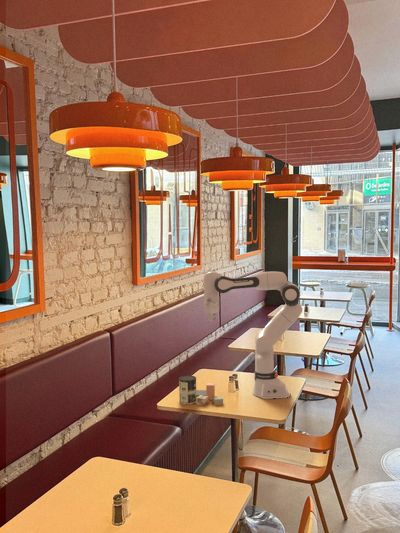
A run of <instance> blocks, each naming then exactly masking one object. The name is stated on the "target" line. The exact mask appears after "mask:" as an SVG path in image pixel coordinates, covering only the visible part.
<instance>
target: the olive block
mask: <svg viewBox="0 0 400 533" xmlns="http://www.w3.org/2000/svg"><path fill="white" fill-rule="evenodd" d="M222 396H223V395H215V396H214V397H213V400H212V403H213V405H214V406H222V405H224V398H223V397H222Z"/></svg>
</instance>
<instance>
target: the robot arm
mask: <svg viewBox="0 0 400 533" xmlns="http://www.w3.org/2000/svg"><path fill="white" fill-rule="evenodd" d="M203 289H204V292H203V298H204V299H203V300H204V314H205V315H207V318H208V322H209V323H211V322H213V321H216V320H217V313H219V312H220V301H221V297H220V295H219V293H220V294H227V293H228V292H230V291H232V290H239V289H240V290H241V289H254V290H258V291H270V290H271V291H272V290H274V291H275V290H276V291H279V292H280V295H281V298H282V299H283V301H284V303H285V304H284V305H283V306H282V308H280V309H279V310H278V311H277V313H276V314H275V315H273V317H272V318H271V319H270V320H269V321H268V323H267V324H266V325H265V326H264V328H261V329H259V330H258V331H257V332H256V333H255V337H254V346H255V347H254V349H255V351H254V353H255V354H254V355H255V357H254V359H255V360H254V361H255V362H254V363H255V364H254V366H255V370H254V373H253V374H254V377H253V378H254V387H253V389H252V390H253V392H252V395H253V396H255V397H259V398H261V399H263V400H270V399H271V400H272V399H273V398H276V399H288V398H290V397H291V392H290V390H288V389H287V386H286V384H285V382H284V381H283V380H281V379H280V378H279V377H278V376H279V374H278V373H277V370H274V368H275V367H274V365H275V364H274V359H275V358H274V346H275V345H276V344H277V343H278V342H279V341H280V339H281V337H282V336H283V335H284V334H285V332H287V331H288V330H289V329H290V328H291V326H292V325H293V324H294V323H296V321H297V320H298V319H299V317H300V316H301V314H302V313H303V306H302V305H301V303H299V300H300V296H301V291H300V288H299V287H298V285H297V284H295V283H294V282H291V281H290V280H288V277H287V275H286V273H284V272H283V271H274V270H273V271H272V270H271V271H263V272H258V273H255V274H252V275H249V276H246V277H234V278H232V277H229V276H226V275H224V274H223V275H222V274H221V273H218V272H217V271H209V272H207V273H206V272H205V274H204V276H203ZM289 396H290V397H289ZM287 397H288V398H287ZM273 400H274V399H273Z"/></svg>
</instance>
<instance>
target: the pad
mask: <svg viewBox="0 0 400 533" xmlns="http://www.w3.org/2000/svg"><path fill="white" fill-rule="evenodd" d="M200 395H203V396H206V390H205V389H201V390H199V389H196V397H198V396H200Z"/></svg>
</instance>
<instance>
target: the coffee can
mask: <svg viewBox="0 0 400 533" xmlns="http://www.w3.org/2000/svg"><path fill="white" fill-rule="evenodd" d="M196 390H197V377H196V376H194V375H189V374H188V375H186V374H185V375H181V376H179V377H178V391H179V392H178V394H179V395H178V397H179V404H182V405H192V404H196V403H197V396H196Z"/></svg>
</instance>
